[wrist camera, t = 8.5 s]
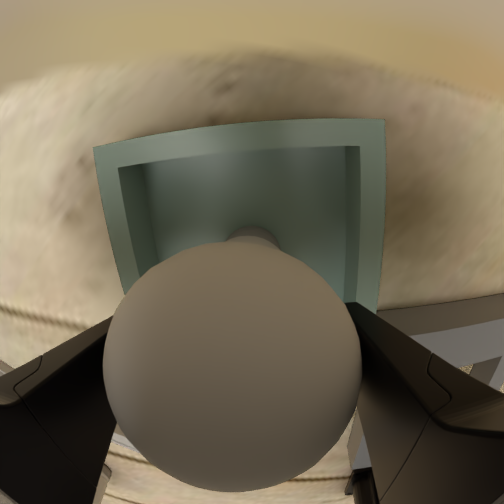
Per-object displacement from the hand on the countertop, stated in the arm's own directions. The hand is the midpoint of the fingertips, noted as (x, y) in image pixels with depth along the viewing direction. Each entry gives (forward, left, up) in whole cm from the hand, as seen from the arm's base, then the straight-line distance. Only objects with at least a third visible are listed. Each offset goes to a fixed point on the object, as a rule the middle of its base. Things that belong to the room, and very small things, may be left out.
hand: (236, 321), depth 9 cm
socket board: (-11, -12, -6) cm, 18 cm away
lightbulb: (0, 0, -6) cm, 6 cm away
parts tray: (0, 0, -6) cm, 6 cm away
